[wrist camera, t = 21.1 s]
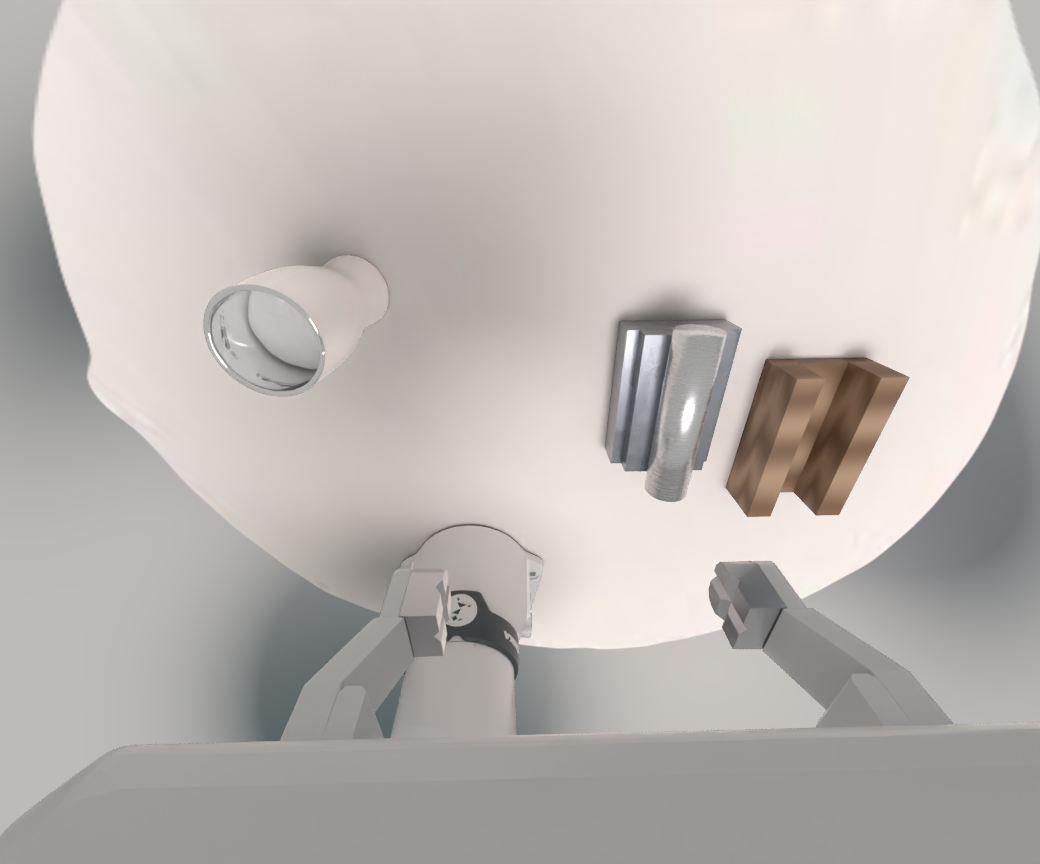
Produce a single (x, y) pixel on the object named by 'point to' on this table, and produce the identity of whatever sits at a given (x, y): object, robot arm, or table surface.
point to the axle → (683, 408)
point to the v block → (654, 389)
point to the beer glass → (294, 323)
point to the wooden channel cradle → (811, 431)
